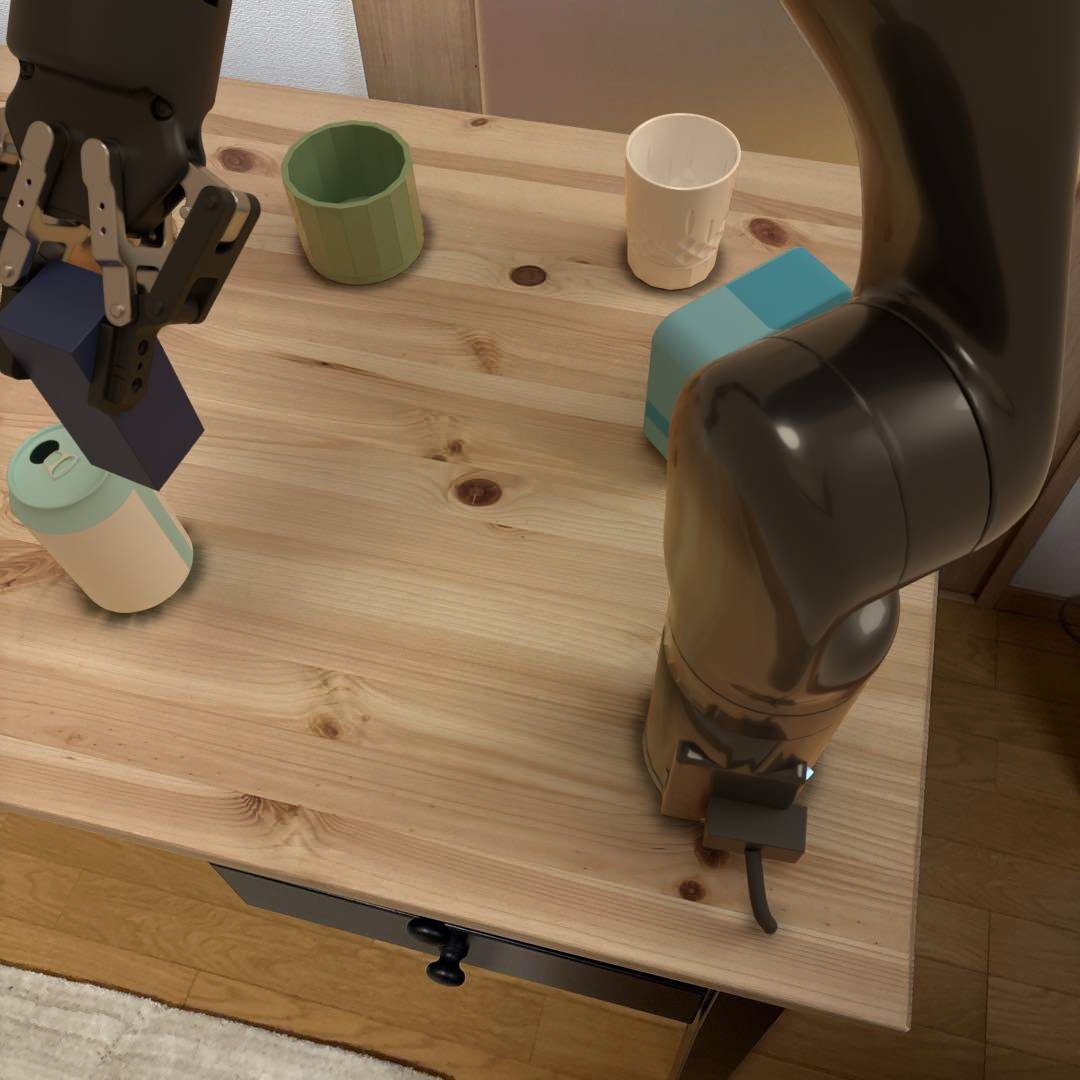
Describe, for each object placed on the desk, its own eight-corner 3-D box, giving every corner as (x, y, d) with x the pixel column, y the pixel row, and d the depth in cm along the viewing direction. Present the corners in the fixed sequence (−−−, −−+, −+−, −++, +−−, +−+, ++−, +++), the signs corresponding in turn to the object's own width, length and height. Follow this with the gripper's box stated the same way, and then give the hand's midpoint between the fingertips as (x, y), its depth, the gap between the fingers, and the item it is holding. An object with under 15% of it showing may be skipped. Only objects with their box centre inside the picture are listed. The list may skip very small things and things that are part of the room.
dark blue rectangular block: (158, 492, 48) (70, 353, 39) (90, 464, 49) (-11, 322, 40) (205, 430, 50) (131, 283, 41) (139, 404, 50) (52, 256, 42)
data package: (680, 487, 66) (699, 370, 56) (639, 442, 68) (651, 320, 58) (817, 405, 70) (860, 280, 59) (775, 364, 72) (809, 236, 61)
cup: (406, 291, 76) (391, 214, 70) (289, 277, 77) (263, 199, 71) (436, 207, 81) (424, 127, 74) (325, 194, 82) (304, 114, 75)
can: (74, 617, 63) (-24, 517, 53) (100, 522, 66) (13, 410, 56) (185, 617, 63) (109, 516, 52) (205, 521, 66) (137, 409, 56)
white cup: (622, 220, 79) (628, 110, 71) (722, 224, 79) (740, 114, 70) (616, 294, 75) (622, 187, 67) (722, 299, 75) (741, 191, 66)
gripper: (-105, -123, 36) (-143, 345, 41) (233, -36, 33) (147, 459, 38) (53, -50, 43) (4, 342, 48) (344, 27, 40) (259, 438, 45)
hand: (68, 391), depth 43 cm, fingers closed on dark blue rectangular block, 4 cm apart
